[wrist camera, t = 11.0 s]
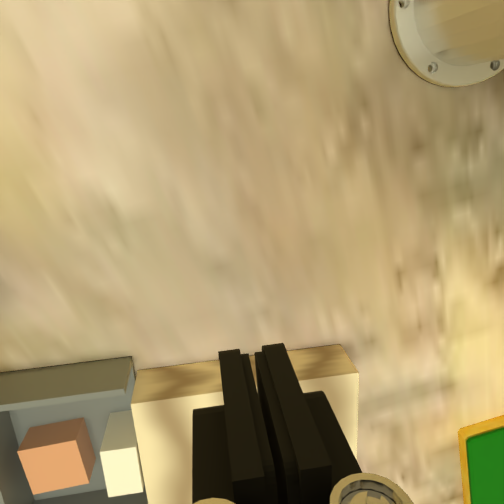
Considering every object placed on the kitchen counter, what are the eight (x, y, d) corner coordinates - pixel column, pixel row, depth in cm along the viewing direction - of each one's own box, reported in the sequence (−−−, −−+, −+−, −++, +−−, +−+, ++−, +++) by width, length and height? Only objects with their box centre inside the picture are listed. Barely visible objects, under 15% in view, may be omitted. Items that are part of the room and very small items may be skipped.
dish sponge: (512, 409, 49) (528, 423, 47) (514, 495, 53) (529, 512, 51) (455, 426, 48) (468, 441, 46) (462, 512, 53) (475, 529, 51)
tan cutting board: (339, 344, 42) (358, 372, 37) (338, 440, 46) (356, 477, 41) (137, 370, 40) (130, 404, 35) (153, 469, 44) (149, 512, 39)
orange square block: (17, 451, 37) (29, 427, 39) (33, 494, 38) (43, 468, 41) (75, 440, 37) (83, 417, 40) (89, 483, 39) (95, 458, 42)
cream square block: (135, 447, 36) (99, 452, 35) (142, 492, 37) (108, 497, 37) (142, 408, 41) (110, 413, 40) (148, 450, 42) (117, 454, 42)
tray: (131, 356, 39) (124, 388, 35) (152, 481, 44) (148, 525, 39) (-6, 373, 38) (-34, 409, 33) (31, 501, 43) (11, 549, 38)
